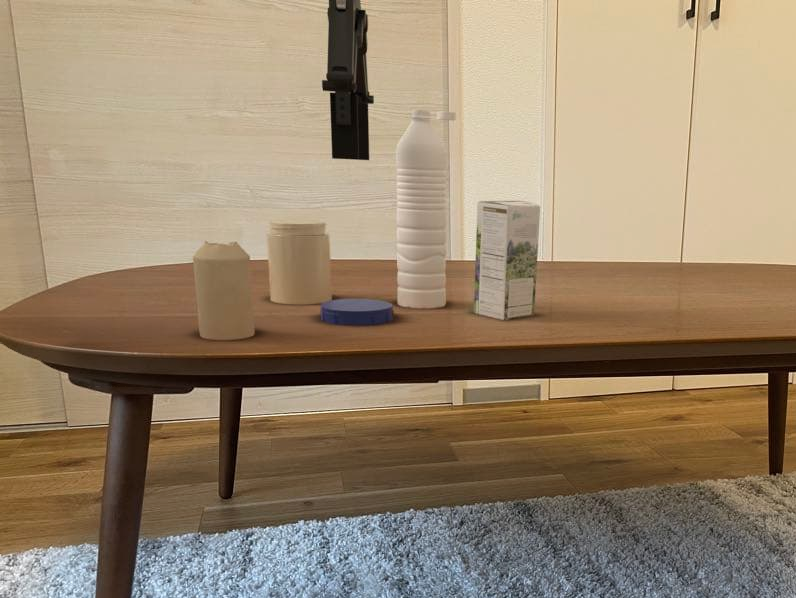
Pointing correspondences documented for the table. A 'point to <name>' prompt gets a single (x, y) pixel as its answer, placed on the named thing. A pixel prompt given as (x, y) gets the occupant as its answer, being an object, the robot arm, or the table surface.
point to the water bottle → (421, 213)
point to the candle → (223, 291)
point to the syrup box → (506, 259)
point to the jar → (299, 262)
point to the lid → (356, 312)
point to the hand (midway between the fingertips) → (352, 159)
